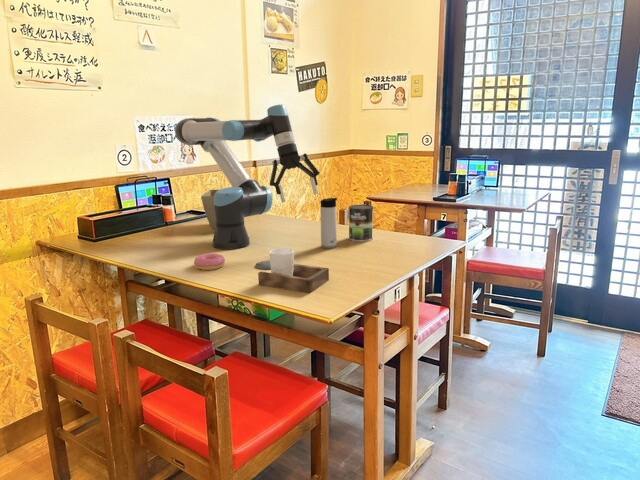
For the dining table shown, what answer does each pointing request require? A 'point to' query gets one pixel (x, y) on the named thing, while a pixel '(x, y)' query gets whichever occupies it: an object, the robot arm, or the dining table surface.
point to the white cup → (282, 261)
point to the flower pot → (209, 206)
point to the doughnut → (209, 261)
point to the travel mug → (328, 223)
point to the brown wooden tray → (296, 278)
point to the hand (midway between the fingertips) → (300, 198)
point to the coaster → (263, 265)
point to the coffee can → (360, 223)
